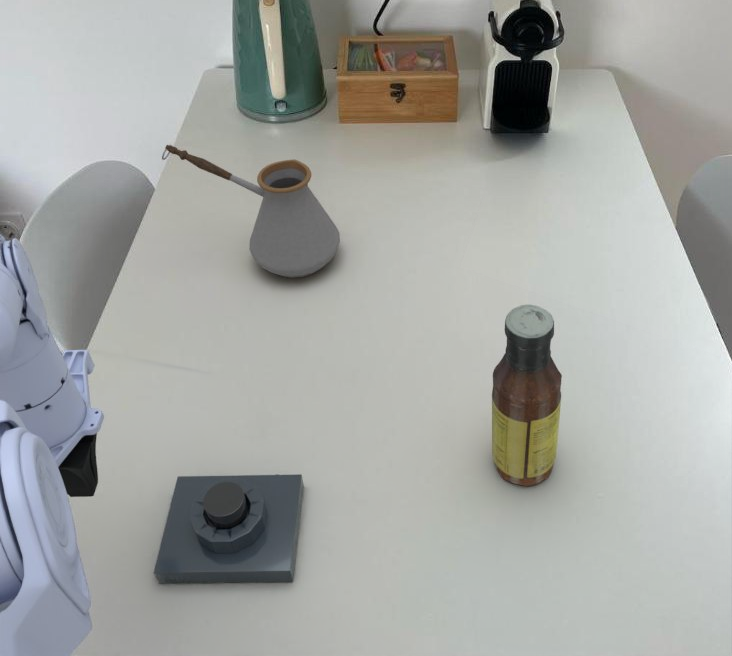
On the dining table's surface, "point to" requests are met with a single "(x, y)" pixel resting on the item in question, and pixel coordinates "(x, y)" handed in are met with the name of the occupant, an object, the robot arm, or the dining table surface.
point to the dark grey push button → (225, 505)
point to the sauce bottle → (526, 399)
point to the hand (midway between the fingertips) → (84, 489)
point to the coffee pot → (283, 217)
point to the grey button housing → (232, 533)
